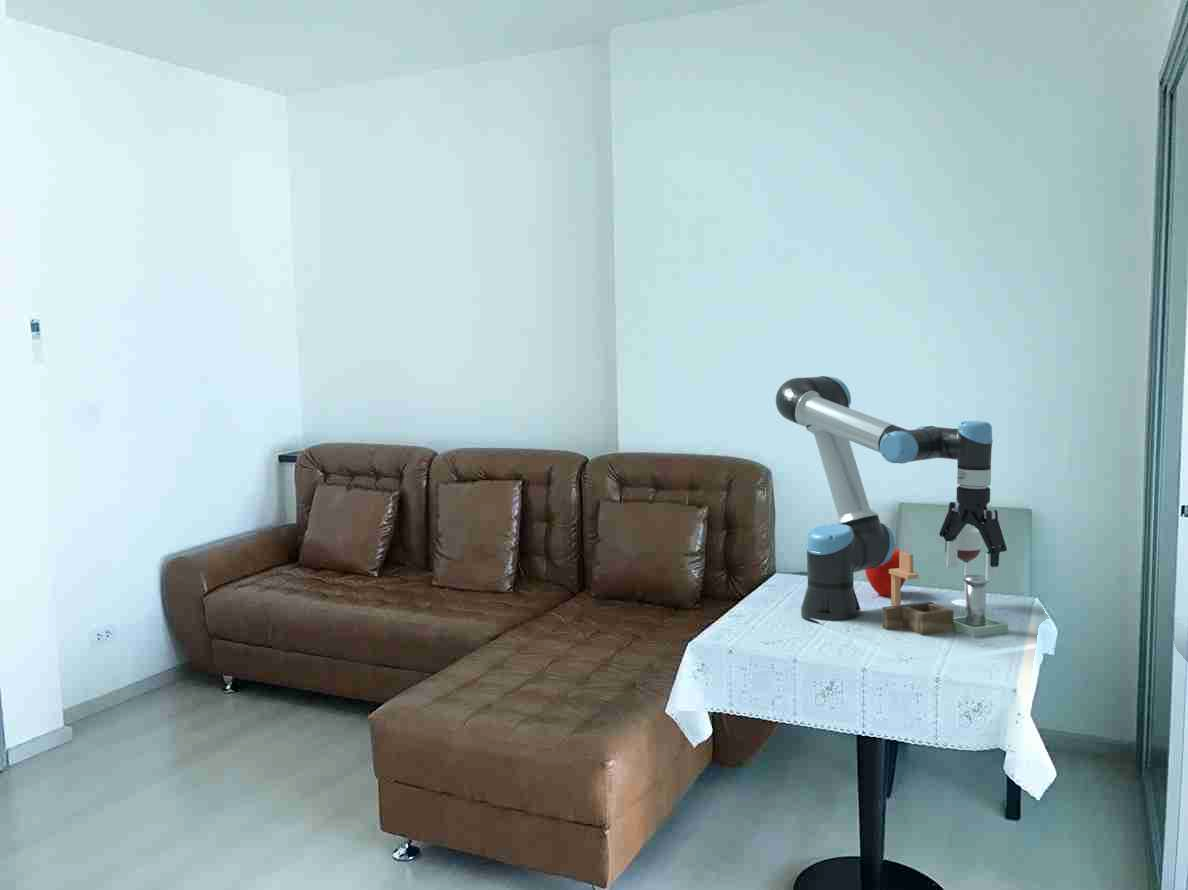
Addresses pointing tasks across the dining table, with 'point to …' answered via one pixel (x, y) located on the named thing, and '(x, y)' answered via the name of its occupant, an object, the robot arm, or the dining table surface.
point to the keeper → (904, 572)
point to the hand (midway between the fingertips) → (970, 573)
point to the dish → (989, 629)
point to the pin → (975, 600)
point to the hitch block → (918, 618)
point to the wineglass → (967, 551)
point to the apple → (884, 575)
